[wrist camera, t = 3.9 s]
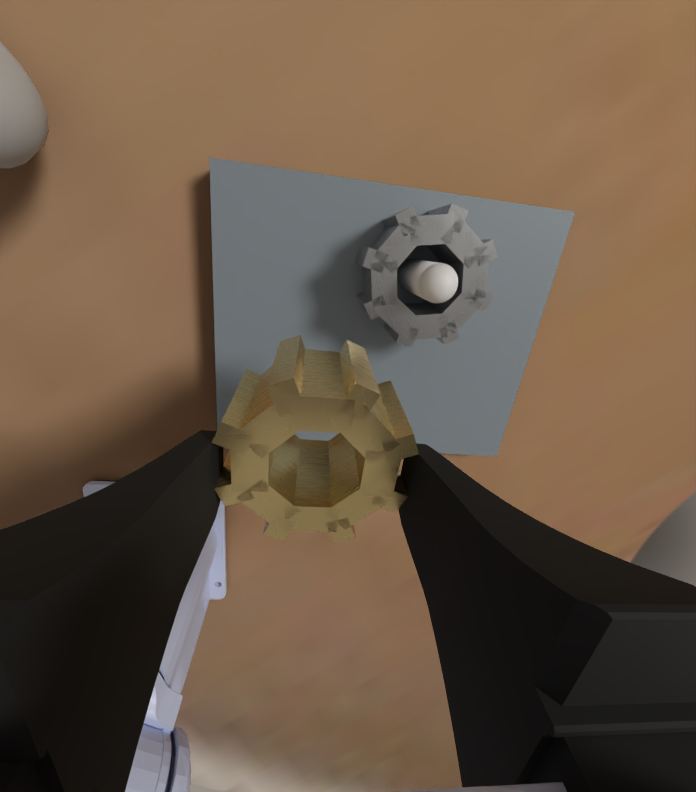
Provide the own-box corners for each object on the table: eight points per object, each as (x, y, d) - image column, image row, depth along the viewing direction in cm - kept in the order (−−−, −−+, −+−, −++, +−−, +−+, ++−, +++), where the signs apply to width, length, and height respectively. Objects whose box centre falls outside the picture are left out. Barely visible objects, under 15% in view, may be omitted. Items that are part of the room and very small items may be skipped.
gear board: (485, 443, 22) (542, 511, 17) (224, 427, 21) (188, 496, 15) (554, 214, 17) (669, 199, 12) (219, 164, 16) (162, 119, 10)
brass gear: (379, 474, 14) (396, 544, 11) (240, 467, 14) (217, 540, 11) (405, 344, 12) (434, 389, 9) (237, 329, 11) (206, 371, 8)
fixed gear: (462, 326, 18) (489, 341, 15) (358, 334, 18) (365, 351, 15) (470, 208, 16) (503, 200, 13) (352, 215, 15) (360, 209, 13)
